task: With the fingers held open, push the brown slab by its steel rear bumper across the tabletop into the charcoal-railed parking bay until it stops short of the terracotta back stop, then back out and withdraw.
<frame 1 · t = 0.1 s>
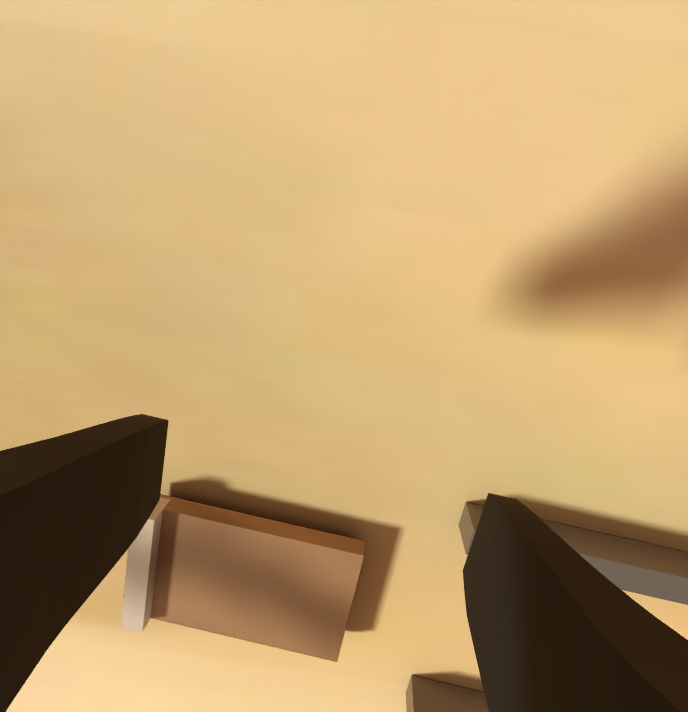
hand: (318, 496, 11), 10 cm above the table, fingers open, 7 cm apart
bay: (536, 628, 23), on the table
brown slab: (251, 561, 23), on the table
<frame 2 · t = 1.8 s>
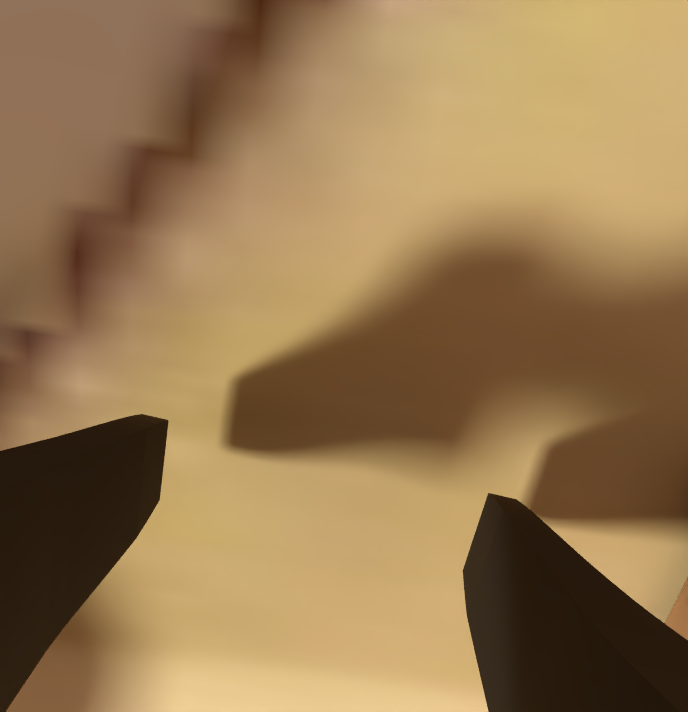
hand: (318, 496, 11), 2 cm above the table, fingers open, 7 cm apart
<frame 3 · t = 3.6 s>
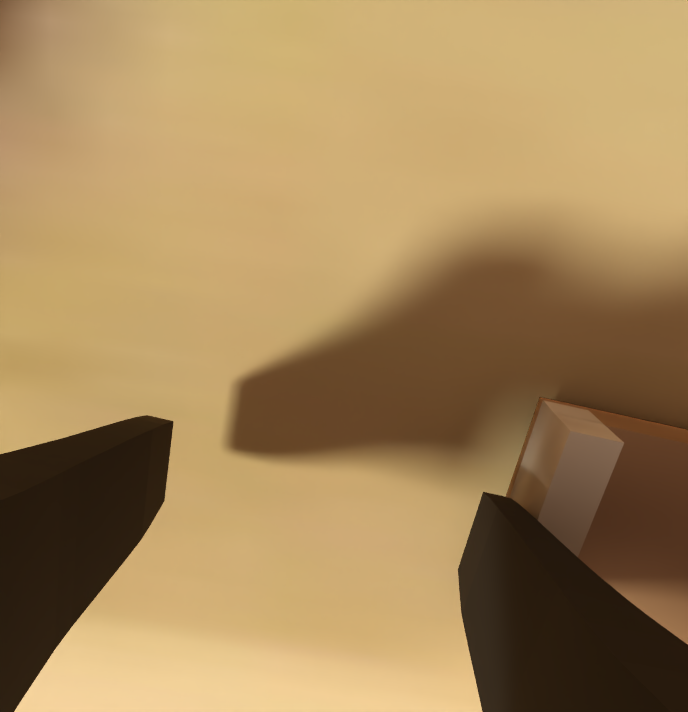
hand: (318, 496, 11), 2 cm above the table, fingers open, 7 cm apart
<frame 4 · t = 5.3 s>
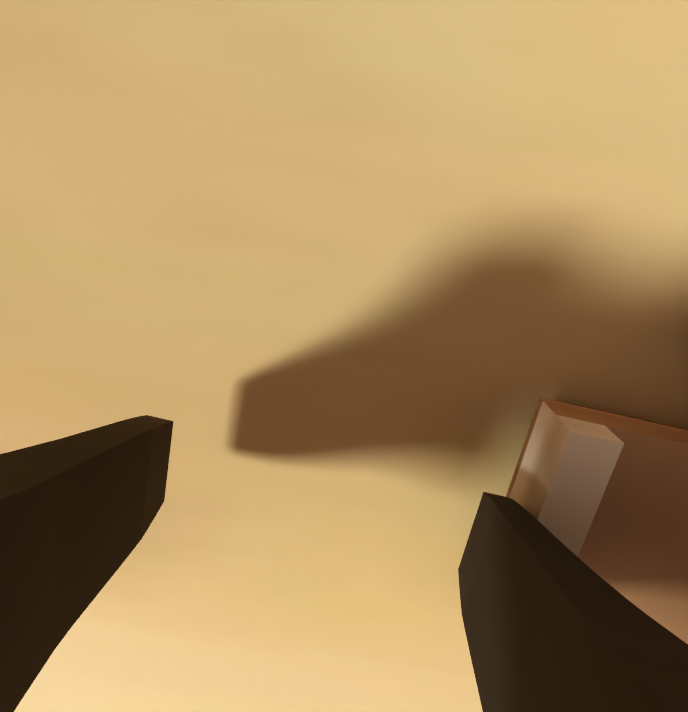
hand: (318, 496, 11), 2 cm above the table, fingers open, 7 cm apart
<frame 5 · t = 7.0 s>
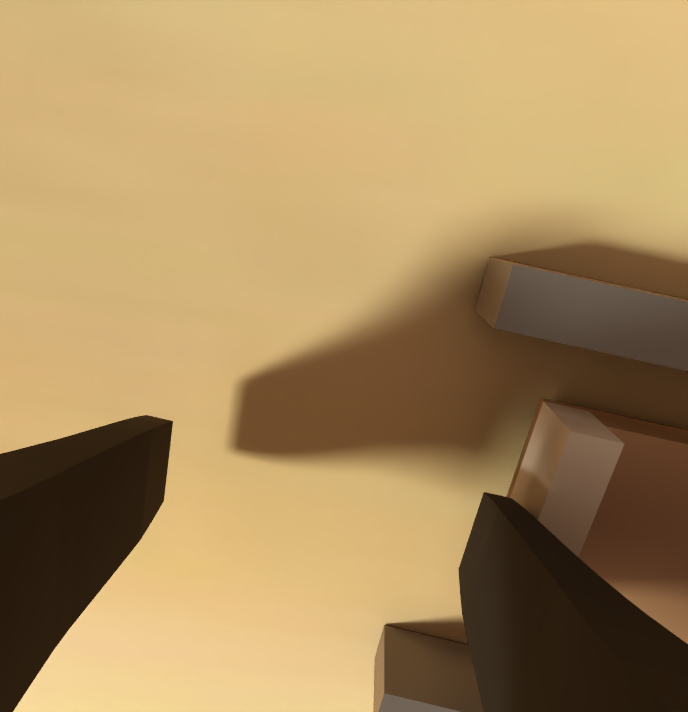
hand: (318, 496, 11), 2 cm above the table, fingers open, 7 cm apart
bay: (622, 529, 12), on the table
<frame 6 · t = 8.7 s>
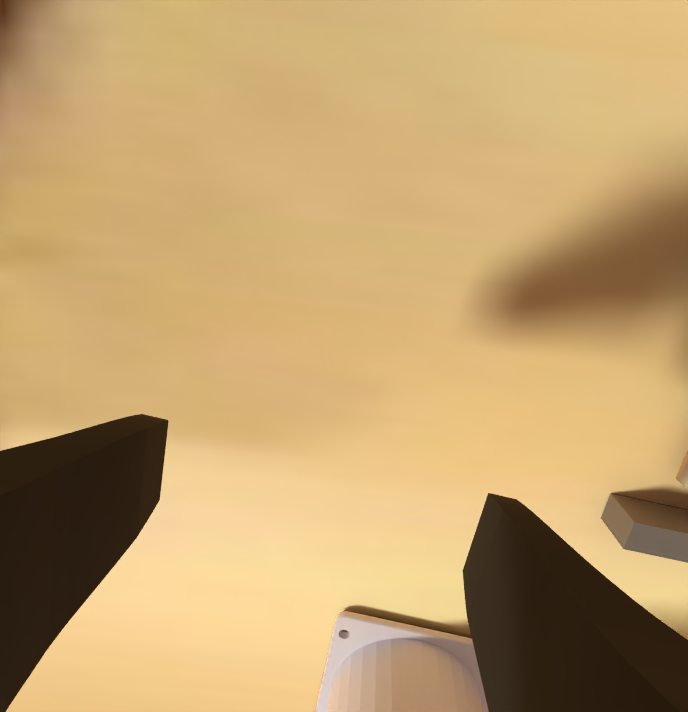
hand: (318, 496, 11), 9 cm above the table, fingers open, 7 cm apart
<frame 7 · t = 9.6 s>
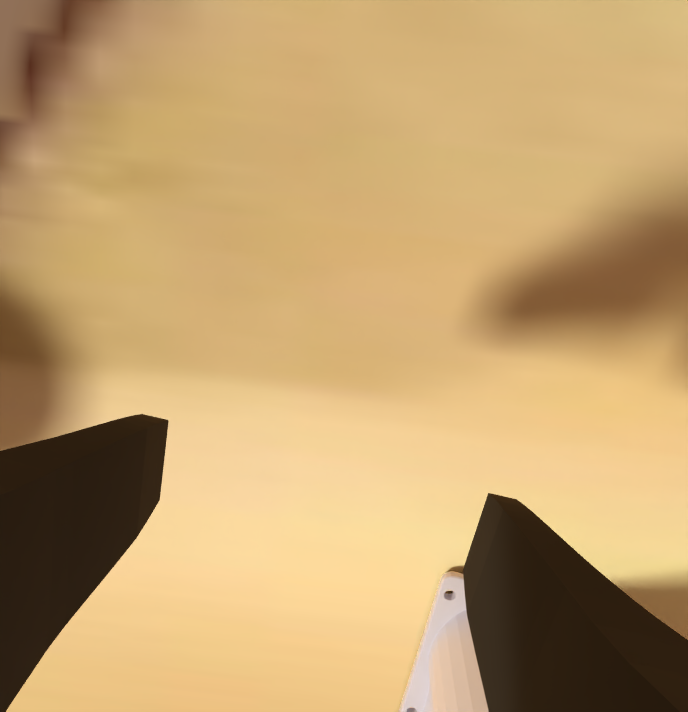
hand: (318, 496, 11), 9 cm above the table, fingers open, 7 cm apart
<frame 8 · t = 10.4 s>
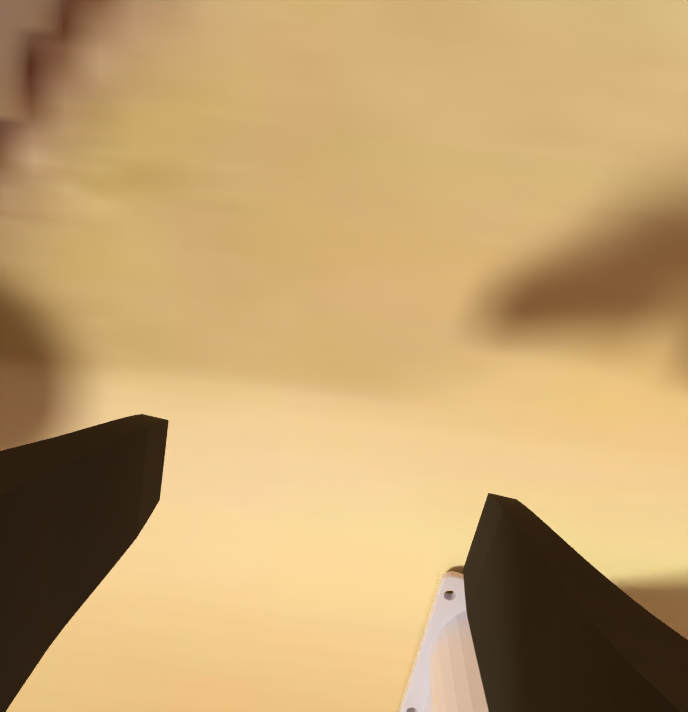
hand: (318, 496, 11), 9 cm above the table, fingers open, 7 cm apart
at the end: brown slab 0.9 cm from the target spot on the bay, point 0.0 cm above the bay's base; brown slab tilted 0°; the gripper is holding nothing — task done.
